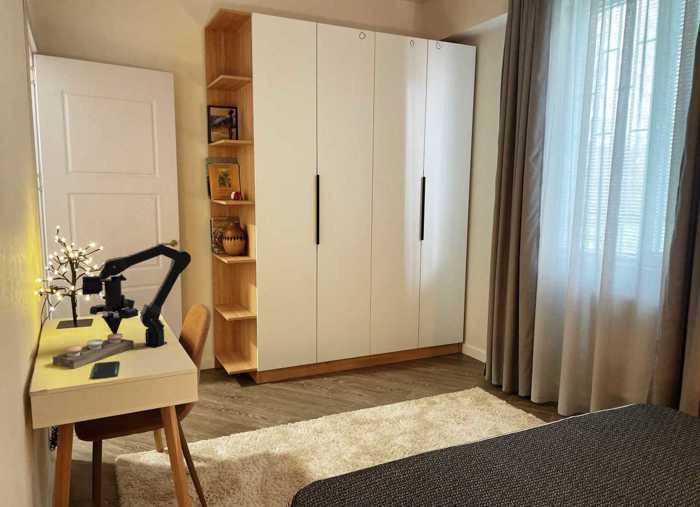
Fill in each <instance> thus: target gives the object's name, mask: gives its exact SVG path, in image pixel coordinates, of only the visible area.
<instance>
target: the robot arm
mask: <svg viewBox="0 0 700 507" xmlns="http://www.w3.org/2000/svg"><path fill="white" fill-rule="evenodd" d="M159 256H164V257H166V258H169V259H171V261H170V266H169V270H168V272H167V274H166V275H165V277H164V279H163V281H162V283H161V284H160V286H159V288H158V289H157V292H156V293H155V295H154V298H152V301H151V302H149V304H147V303H145V304H144V305H143V308H142V310H141V311H140V312H139V310H138V309H137V307H136V308H135V307H134V306H135V302H136V301H135V300H133V299H129V298H126V296H125V294H123V293H122V291H123V290H122V281H123V282H124V281H127V278H126V277H125V276H124V274H123V273H122V272H125V271H126V270H127V269H129V268H131V267H132V266H135V265H138V264H141V263H143V262H145V261H149V260H152V259H154V258H156V257H159ZM191 261H192V256H191V254H190V253H189V252H187V251H185V250H183V249H179V250H176V249H174V248H172V247H169V246H167V245H166V244H164V243H158V244H156V245H153V246H151V247H149V248H145V249H143V250H140V251H137V252H134V253H132V254H129V255H126V256H120V257H119V256H118V257H113V258H108V259H106V260H105V261H104V263H103V269H102V270H101V271H100V272H99V274H98V275H95V276H94V275H92V276H88V275H83V276H82V277H81V278H82V284H81V288H82V289H81V290H82V292H81V293H82V295H83V296H90V295H91V296H92V295H100V293H102V292H103V290H104V295H102V297H101V298H102V300H105V301H104V303H105V304H102V303H101V304H97V305H93V306H90V308H89V314H90V315H94V316H96V315H97V314H99V313H102V316H100V317H101V319H103V320H104V322H105V323H106V325H107V326H108V328H109V330H110V332H111V334H117V333H118V332H119V328H120V325H121V323H122V321H123V319H124V320H126V319H127V320H128V319H131V318H135V317H138V316H139V313H140V316H139V317H140V318H139V319H140V321H141V324H142V325H143V326H144V327H145V334H144V336H145V343H144V344H143V345H142V346H143V347H144V346H145V347H152V348H158V347H161V346H163V345H166V344H167V345H168V342H167V341H165V325H164V323H163V322H162V321H161V320H160V316H161V313H162V308H163V307H164V306H163V305H164V304H165V302H166V301H167V298H168V297H169V295H170V293H171V292H172V289H173V287H174V285H175V283H176V282H177V280H178V278H179V276H180V275H181V274H182V272H184V271H185V270H186V268H187V267H189V264H190V263H191ZM103 283H104V285H103ZM103 287H104V288H103Z"/></svg>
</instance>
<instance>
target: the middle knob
mask: <svg viewBox="0 0 700 507" xmlns="http://www.w3.org/2000/svg"><path fill="white" fill-rule="evenodd" d="M103 341H104V340H103V339H100V338H99V339H98V338H96V339H90V340H88V341H86V346H89V350H94V351H95V350H98V349H101V344H103Z"/></svg>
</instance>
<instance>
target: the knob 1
mask: <svg viewBox="0 0 700 507" xmlns="http://www.w3.org/2000/svg"><path fill="white" fill-rule="evenodd" d="M82 347H83V346H81V345H71V346H67V347H65V348H64V353H67V357H71V358H73V357H76V356H79V355H80V351H81V350H82Z"/></svg>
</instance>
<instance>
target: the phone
mask: <svg viewBox="0 0 700 507" xmlns="http://www.w3.org/2000/svg"><path fill="white" fill-rule="evenodd" d="M120 365H121V363H120V360H119V361H118V360H115V361H114V360H113V361H106V362H105V361H104V362H96V363H94V365H93V368H92V369H93V370H92V373H91V377H90V379H91V380H101V379H110V378H117V377H118V376H119V371H120Z"/></svg>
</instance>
